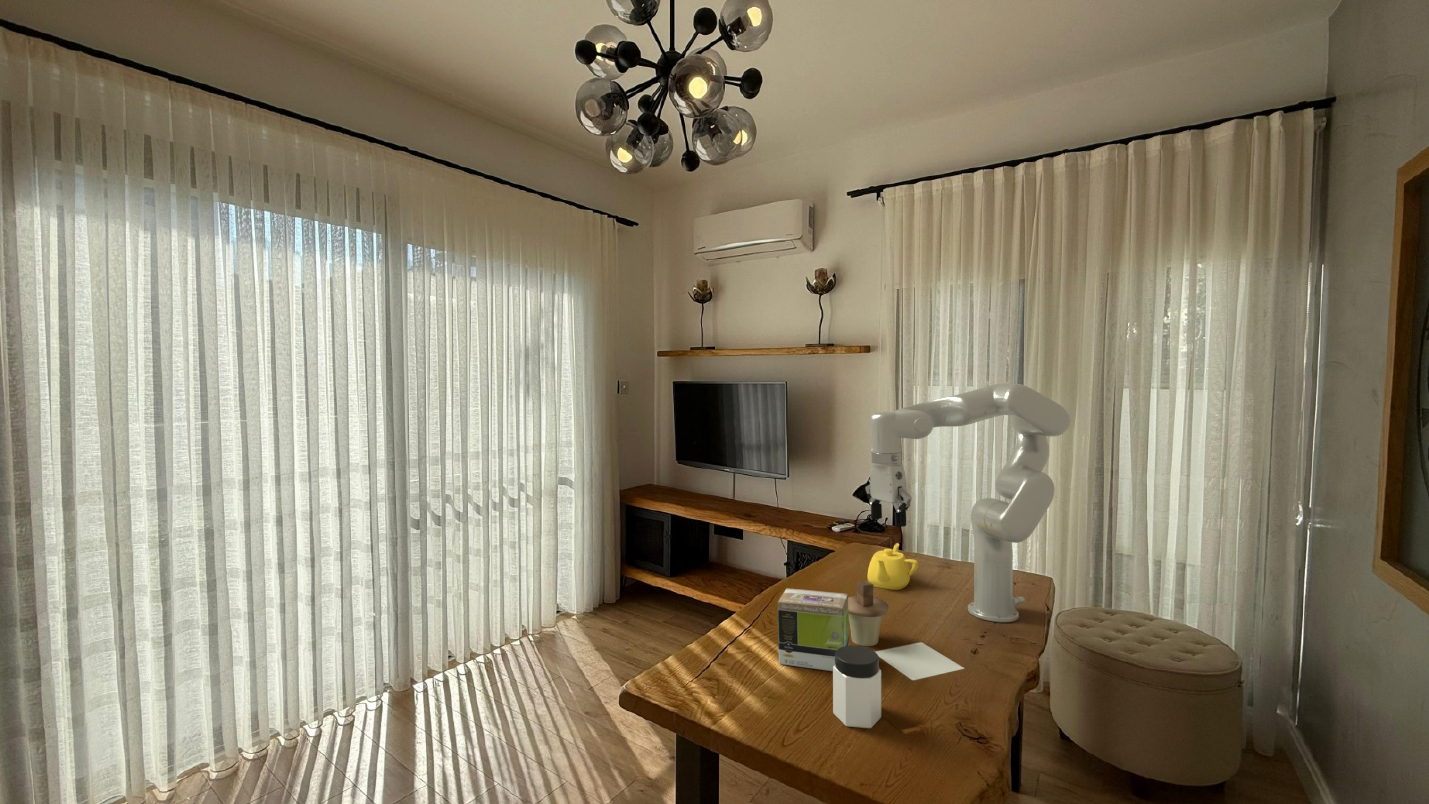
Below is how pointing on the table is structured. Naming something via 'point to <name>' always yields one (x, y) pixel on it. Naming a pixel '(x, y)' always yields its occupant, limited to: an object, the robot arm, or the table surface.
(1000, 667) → the table surface
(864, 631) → the flower pot
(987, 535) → the robot arm
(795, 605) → the tea box
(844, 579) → the table surface
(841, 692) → the jar
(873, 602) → the lid
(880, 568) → the teapot
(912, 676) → the mat
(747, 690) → the table surface
